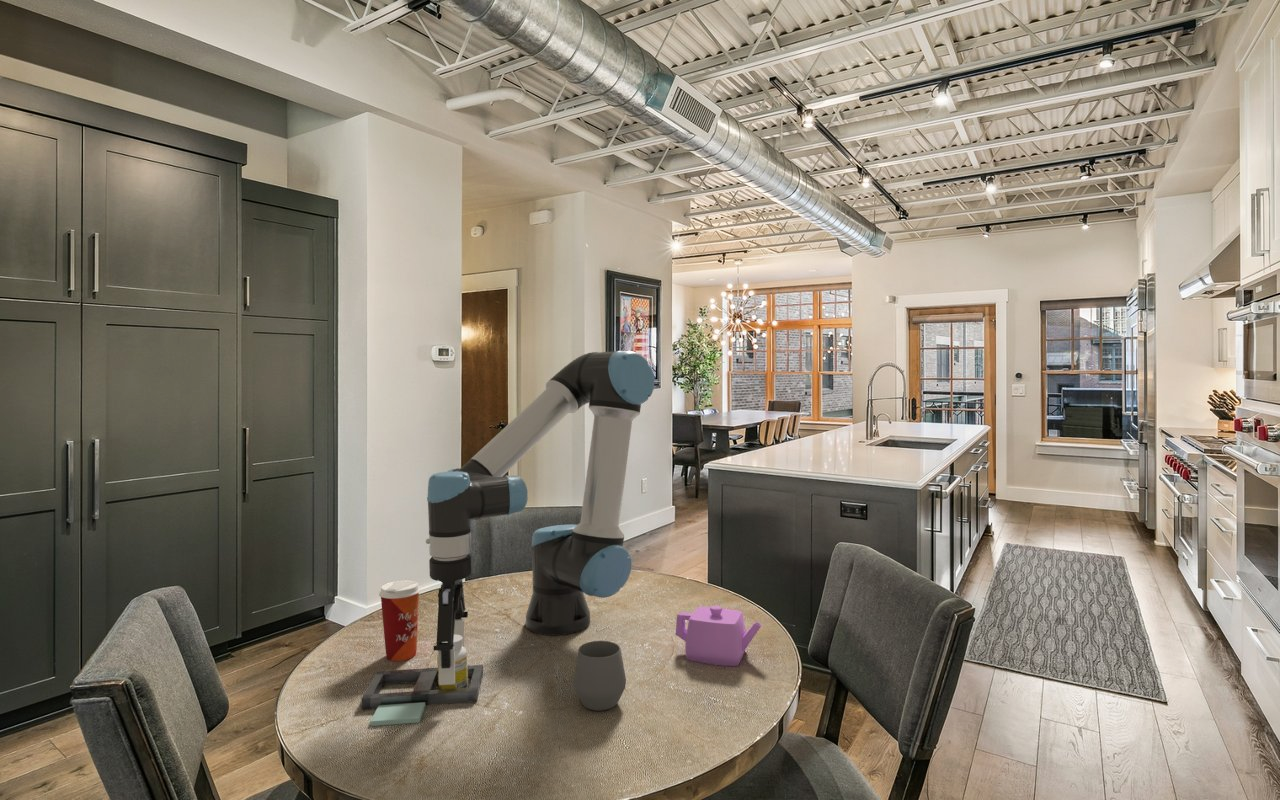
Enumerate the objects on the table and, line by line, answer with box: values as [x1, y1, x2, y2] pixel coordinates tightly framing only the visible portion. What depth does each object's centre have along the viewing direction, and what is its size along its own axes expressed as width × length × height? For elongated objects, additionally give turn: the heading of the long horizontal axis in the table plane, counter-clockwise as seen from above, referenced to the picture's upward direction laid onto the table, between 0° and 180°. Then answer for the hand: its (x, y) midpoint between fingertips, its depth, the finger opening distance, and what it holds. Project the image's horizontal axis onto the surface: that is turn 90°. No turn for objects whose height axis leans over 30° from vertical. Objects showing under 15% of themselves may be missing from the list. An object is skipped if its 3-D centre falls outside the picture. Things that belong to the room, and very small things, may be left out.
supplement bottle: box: [436, 635, 469, 690], centre depth 127 cm, size 5×5×10 cm
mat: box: [369, 702, 426, 727], centre depth 118 cm, size 8×6×1 cm
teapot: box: [675, 605, 762, 667], centre depth 142 cm, size 18×10×10 cm, turn 71°
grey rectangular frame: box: [361, 664, 484, 711], centre depth 127 cm, size 20×11×2 cm, turn 98°
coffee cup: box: [378, 579, 421, 662], centre depth 143 cm, size 8×8×15 cm
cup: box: [572, 640, 627, 712], centre depth 121 cm, size 10×9×10 cm
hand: (452, 667), depth 127 cm, fingers open, 13 cm apart
